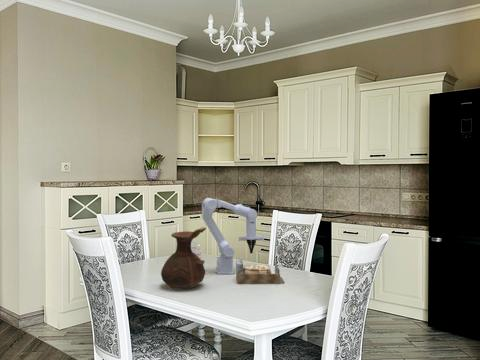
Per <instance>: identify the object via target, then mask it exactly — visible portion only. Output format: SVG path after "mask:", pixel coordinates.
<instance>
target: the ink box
mask: <svg viewBox="0 0 480 360" xmlns="http://www.w3.org/2000/svg"><path fill="white" fill-rule="evenodd" d="M191 250H192V252H193V253H195V254H196V255H197V256H198V257H199V258H200V260H202V245H201V244H199V241H198V240H192V241H191Z"/></svg>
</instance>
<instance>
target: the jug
mask: <svg viewBox="0 0 480 360" xmlns="http://www.w3.org/2000/svg"><path fill="white" fill-rule="evenodd" d="M206 230H207V228H206V227H200V228H198V229H195V230H194V231H186V230H185V231H176V232H173V233H171V237H172V238H174V239H176V250H175V252H173V254H171V255H170V256H169V257H168V259H166V261H165V262H164V265H163V266H162V269H161V272H160V276H161V280H162V282H164V283H165V284H166V286H168V287H169V288H171V289H172V290H173V289H175V290H187V289H189V290H190V289H192V288H194V287H195V286H197V285H199V284H200V283H202V282H203V281H204V279H205V275H206V269H205V266H204V264H205V262H206V261H205V260H204V259H201V260H200V258H199V257H198V256H197V255H196V254H195V253H193V252H192V250H191V244H192V242H191V241H194V240H193V239H195V238H197V237H198V236H199V235H200V234H202V233H203V232H204V231H206Z"/></svg>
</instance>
